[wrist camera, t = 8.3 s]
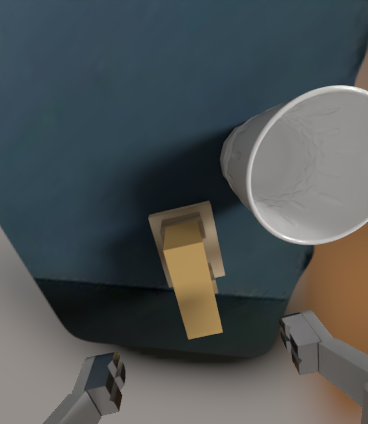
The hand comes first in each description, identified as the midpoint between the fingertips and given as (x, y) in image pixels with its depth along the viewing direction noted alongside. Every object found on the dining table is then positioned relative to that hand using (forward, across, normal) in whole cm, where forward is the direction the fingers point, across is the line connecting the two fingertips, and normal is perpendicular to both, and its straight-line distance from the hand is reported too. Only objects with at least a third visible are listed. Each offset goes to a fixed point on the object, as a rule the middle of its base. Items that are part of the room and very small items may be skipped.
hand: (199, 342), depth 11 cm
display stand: (+12, 0, +1) cm, 12 cm away
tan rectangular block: (+8, 0, +1) cm, 8 cm away
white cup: (+13, -8, -6) cm, 16 cm away
